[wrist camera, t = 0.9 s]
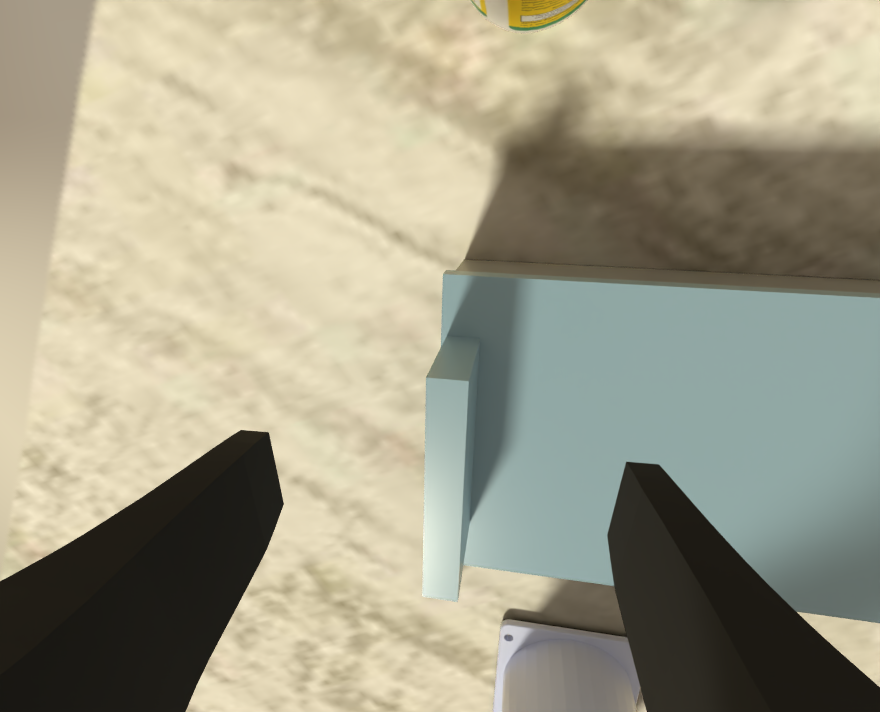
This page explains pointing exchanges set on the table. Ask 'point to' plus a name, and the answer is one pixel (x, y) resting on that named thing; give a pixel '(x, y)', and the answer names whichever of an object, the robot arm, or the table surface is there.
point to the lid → (655, 427)
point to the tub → (674, 276)
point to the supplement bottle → (527, 13)
